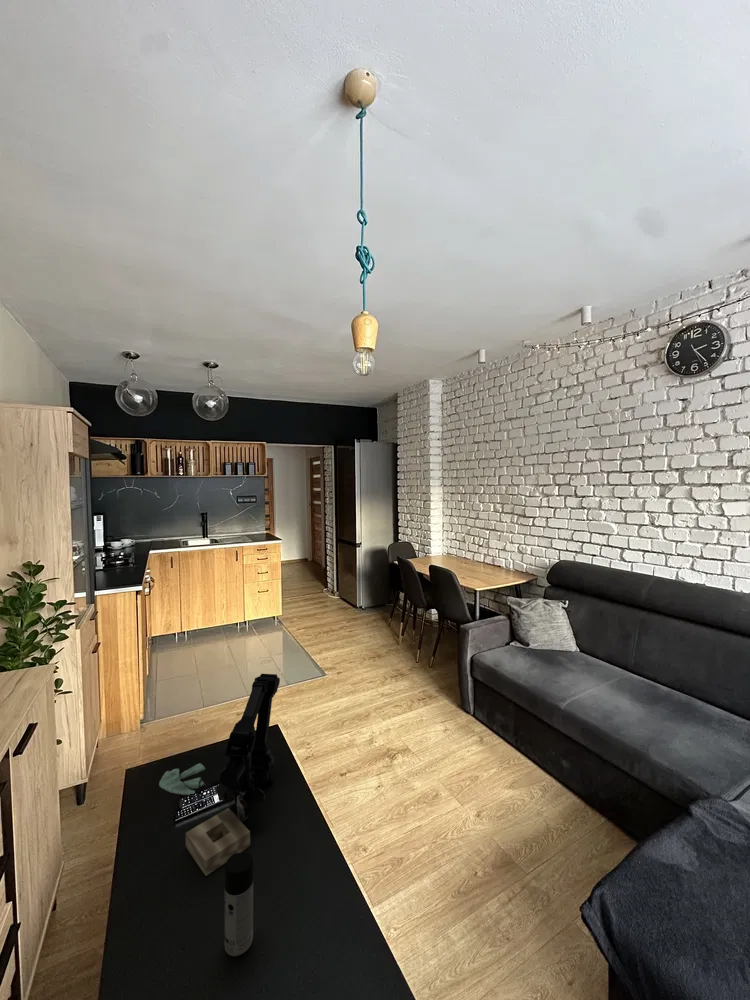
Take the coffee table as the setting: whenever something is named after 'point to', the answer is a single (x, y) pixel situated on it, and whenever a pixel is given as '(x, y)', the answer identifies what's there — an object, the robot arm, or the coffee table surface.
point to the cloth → (174, 785)
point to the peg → (240, 808)
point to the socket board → (221, 850)
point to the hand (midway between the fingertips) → (242, 811)
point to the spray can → (238, 904)
